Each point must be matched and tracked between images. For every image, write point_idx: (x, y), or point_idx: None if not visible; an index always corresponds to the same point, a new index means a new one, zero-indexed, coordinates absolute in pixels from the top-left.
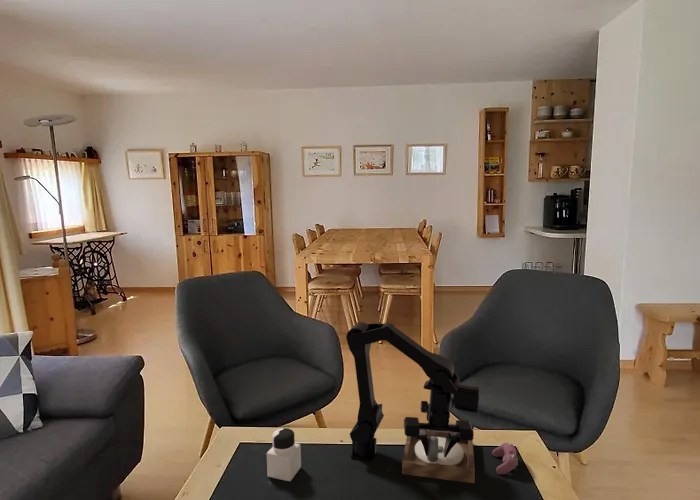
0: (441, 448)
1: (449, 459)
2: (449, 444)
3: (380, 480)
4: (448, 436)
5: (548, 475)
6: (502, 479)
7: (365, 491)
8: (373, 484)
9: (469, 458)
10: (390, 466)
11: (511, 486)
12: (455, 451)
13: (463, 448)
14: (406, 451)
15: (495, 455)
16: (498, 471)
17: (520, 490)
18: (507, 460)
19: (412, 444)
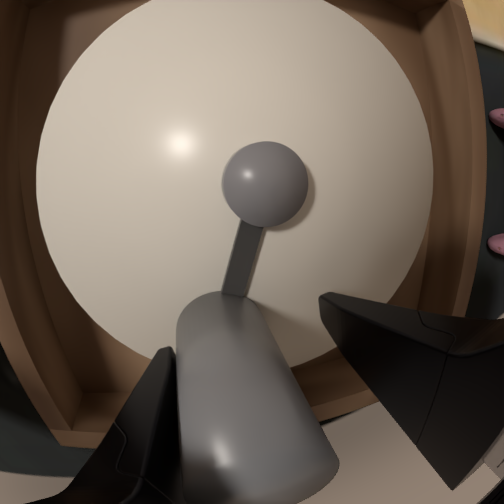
0: (292, 185)
1: (348, 295)
2: (425, 452)
3: (33, 433)
4: (471, 439)
5: None
6: (487, 271)
7: (36, 468)
8: (30, 448)
9: (459, 275)
10: (5, 353)
11: (493, 296)
12: (392, 175)
13: (405, 73)
14: (16, 350)
15: (498, 125)
16: (497, 252)
17: (500, 304)
18: None
19: (27, 109)
